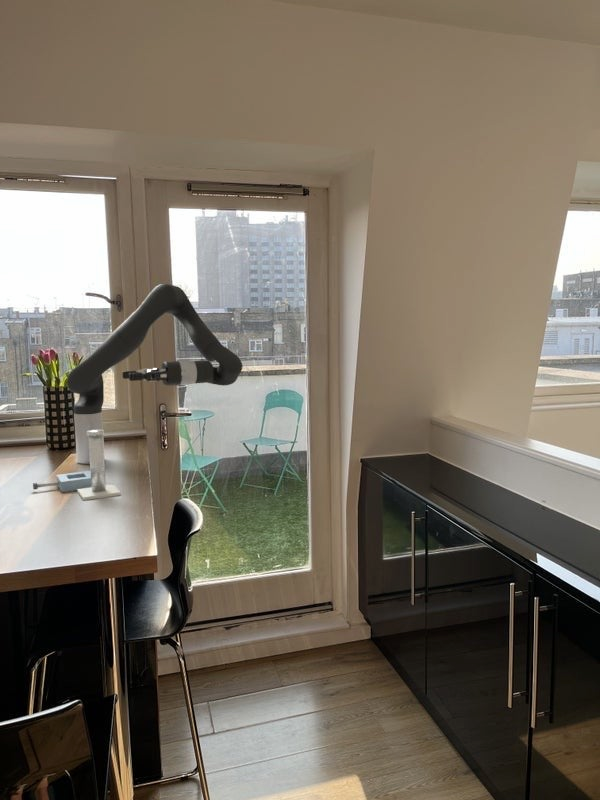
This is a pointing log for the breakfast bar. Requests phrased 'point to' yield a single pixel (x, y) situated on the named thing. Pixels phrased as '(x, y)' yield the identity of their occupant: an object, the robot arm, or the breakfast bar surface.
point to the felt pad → (88, 494)
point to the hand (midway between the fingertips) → (125, 376)
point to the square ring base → (69, 481)
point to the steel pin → (97, 460)
